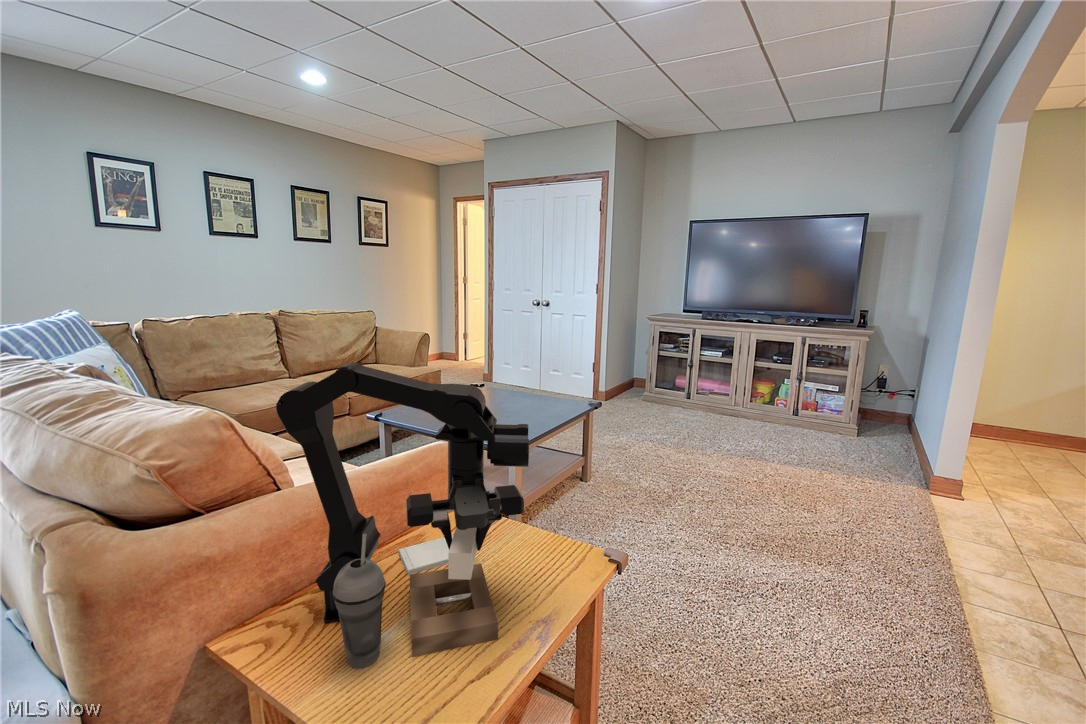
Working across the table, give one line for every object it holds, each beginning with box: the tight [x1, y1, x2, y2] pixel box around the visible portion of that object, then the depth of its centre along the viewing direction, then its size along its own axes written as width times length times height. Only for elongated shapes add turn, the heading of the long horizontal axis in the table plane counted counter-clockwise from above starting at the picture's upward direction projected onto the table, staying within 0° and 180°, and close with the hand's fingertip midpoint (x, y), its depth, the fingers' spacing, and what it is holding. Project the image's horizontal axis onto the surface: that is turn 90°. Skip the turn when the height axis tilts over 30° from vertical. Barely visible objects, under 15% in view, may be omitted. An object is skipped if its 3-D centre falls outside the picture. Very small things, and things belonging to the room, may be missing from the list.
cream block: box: [447, 527, 478, 580], centre depth 80 cm, size 4×12×4 cm, turn 1°
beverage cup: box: [332, 534, 387, 670], centre depth 70 cm, size 7×7×20 cm
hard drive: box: [397, 534, 454, 575], centre depth 98 cm, size 2×8×12 cm
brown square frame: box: [409, 563, 499, 658], centre depth 81 cm, size 13×16×3 cm
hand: (465, 551), depth 81 cm, fingers closed on cream block, 4 cm apart
